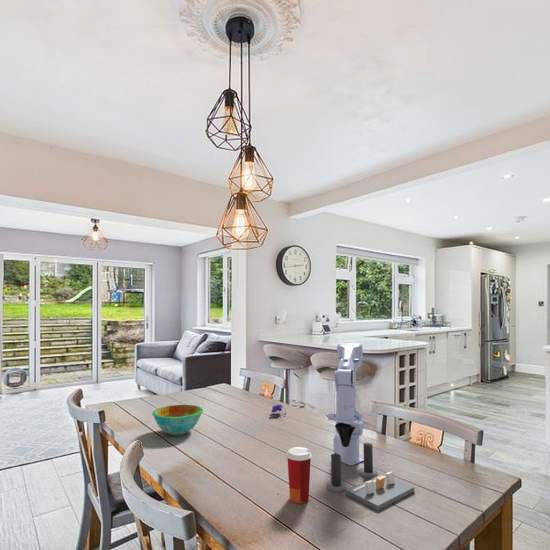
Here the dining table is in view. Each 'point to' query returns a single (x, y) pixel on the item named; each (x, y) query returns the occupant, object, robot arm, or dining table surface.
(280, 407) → the game controller
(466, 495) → the dining table surface
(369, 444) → the rubber post
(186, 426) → the bowl
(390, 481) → the block
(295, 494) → the paper cup
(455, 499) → the dining table surface
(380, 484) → the block
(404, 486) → the breaker panel
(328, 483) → the rubber post
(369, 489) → the block
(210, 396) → the dining table surface
